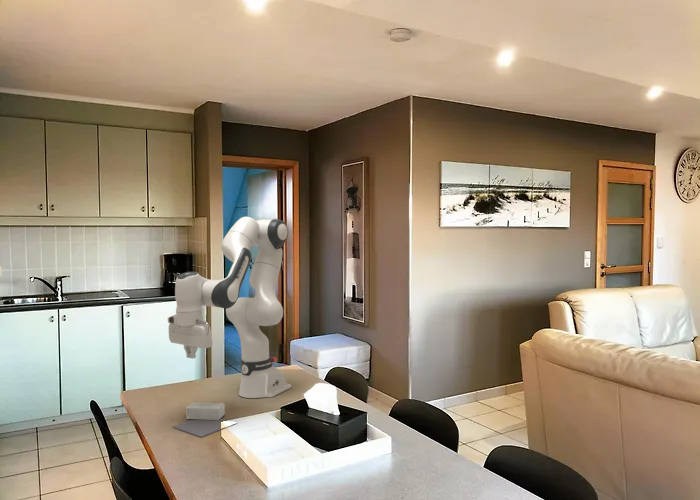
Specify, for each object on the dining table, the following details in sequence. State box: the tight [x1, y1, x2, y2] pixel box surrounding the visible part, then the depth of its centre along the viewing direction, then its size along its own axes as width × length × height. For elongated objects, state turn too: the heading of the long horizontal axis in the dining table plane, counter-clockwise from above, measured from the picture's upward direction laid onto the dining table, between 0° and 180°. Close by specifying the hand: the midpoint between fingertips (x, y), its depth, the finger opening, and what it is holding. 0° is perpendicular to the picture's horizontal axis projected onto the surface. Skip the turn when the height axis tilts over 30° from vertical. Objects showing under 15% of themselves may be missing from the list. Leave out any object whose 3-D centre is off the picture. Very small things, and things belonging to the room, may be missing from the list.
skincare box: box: [185, 401, 226, 420], centre depth 189 cm, size 6×4×12 cm
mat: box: [172, 417, 228, 439], centre depth 182 cm, size 15×16×1 cm
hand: (191, 357), depth 187 cm, fingers closed
